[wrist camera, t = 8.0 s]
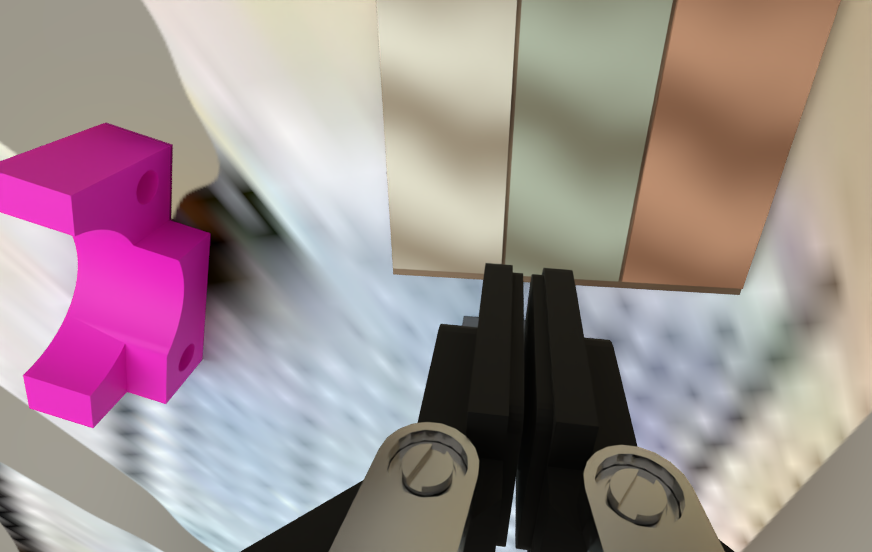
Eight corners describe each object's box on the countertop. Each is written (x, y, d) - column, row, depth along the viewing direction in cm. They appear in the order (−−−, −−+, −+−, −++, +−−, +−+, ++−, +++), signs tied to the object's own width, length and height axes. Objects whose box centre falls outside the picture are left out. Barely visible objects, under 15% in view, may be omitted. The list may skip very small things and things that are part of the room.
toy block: (203, 357, 36) (135, 441, 30) (116, 330, 36) (29, 408, 29) (216, 159, 28) (128, 214, 22) (105, 122, 28) (-17, 167, 22)
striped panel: (373, -90, 21) (368, -92, 21) (865, -105, 19) (878, -107, 18) (395, 269, 30) (392, 276, 29) (735, 288, 28) (740, 296, 27)
